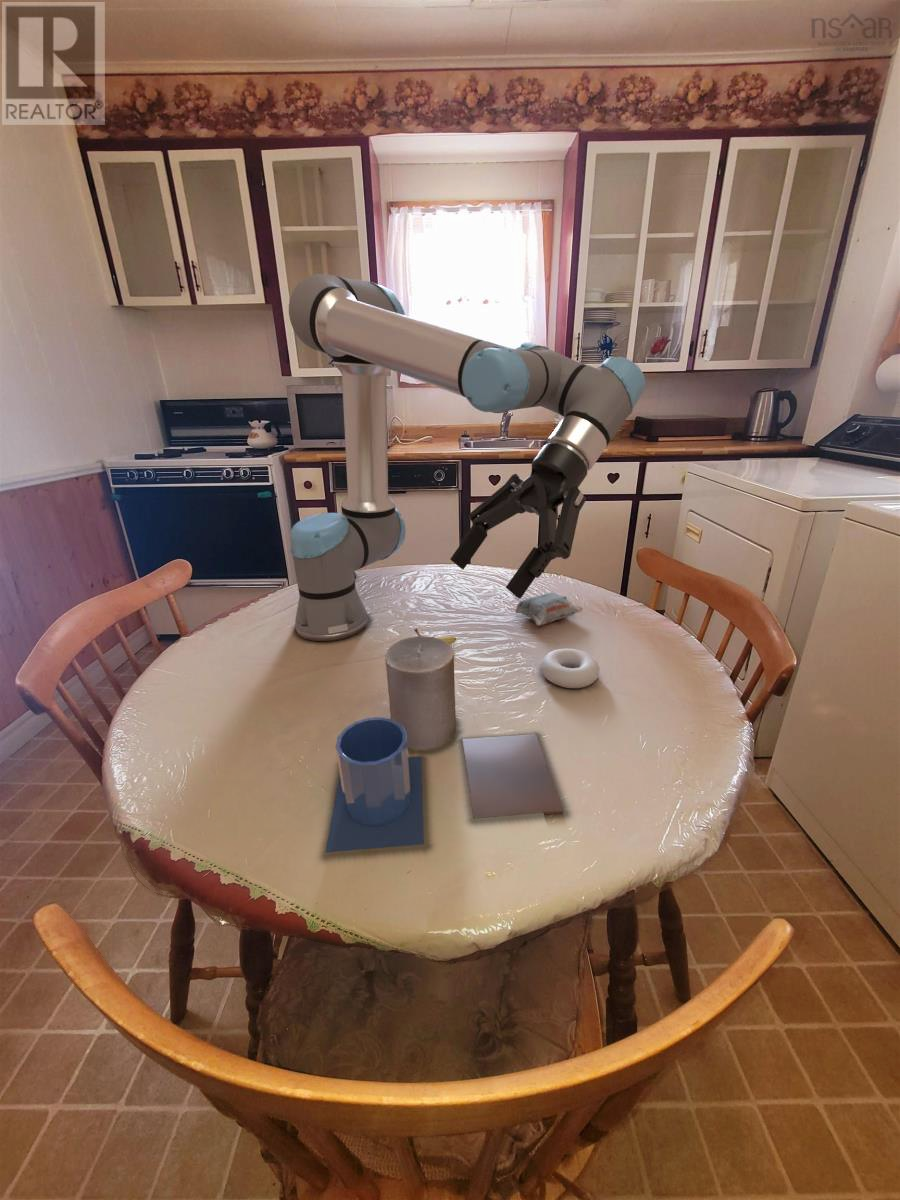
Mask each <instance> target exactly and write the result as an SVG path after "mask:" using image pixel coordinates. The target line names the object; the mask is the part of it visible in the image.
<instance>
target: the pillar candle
mask: <svg viewBox="0 0 900 1200" xmlns="http://www.w3.org/2000/svg"><path fill="white" fill-rule="evenodd" d="M439 638H440V637H434V636H427V635H425V636H424V635H422V636H418V635H417V636H411V637H406V638H403V639H399V640H398V641H396V642H394V643H392V644H391V645H390V646H389V647H388V648H387V650H386V652H385V668H386V669H385V670H386V680H387V690H388V691H387V692H388V703H389V713H390V719H392V720H394V721H396V722H398V723H399V724H401V725H402V726H403V728H404V729H405V731H406V732H407V743H408V749H410V750H415V751H416V750H417V751H419V750H420V751H425V750H432V749H436V748H439V747H440V746H441V747H442V746H443V745H444V744H446V743H448V742H449V741H450V740H451V739H452V738H453V736H454V734H455V733H456V730H457V716H456V689H455V688H456V687H455V684H456V683H455V655H454V654H455V651H454V648H453V646H452V644H448V643H447V642H446V641H443V640H442V639H439Z"/></svg>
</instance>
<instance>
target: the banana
mask: <svg viewBox="0 0 900 1200" xmlns="http://www.w3.org/2000/svg"><path fill="white" fill-rule="evenodd" d="M414 633H416V634H417V636H423V635H422V634H421V633H420V632H419V629H418V628H417V627H416V628H414ZM438 638H439V639H442V640H443V641H446V642H447V643H448V644H450V645H452V644H454V643H455V642H456V641H457V637H455V636H445V637H438Z"/></svg>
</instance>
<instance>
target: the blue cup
mask: <svg viewBox="0 0 900 1200" xmlns="http://www.w3.org/2000/svg"><path fill="white" fill-rule="evenodd" d="M335 752H336V758H337V766H338V771H339V775H340V778H341V784H342V791H343V797H344V802H345V806H346V810H347V813H348V814H349V816H350V817H351V818H352V819H353V820H354V821H356V822H358V823H360V824H362V825H367V826H380V825H385V824H388V823H391V822H393V821H395V820H396V819H398V818H399V817H400V816H402V815H403V814H404V812H405V811H406V810H407V808H408V807H409V804H410V801H411V781H410V768H409V757H410V756H409V748H408V743H407V732H406V731H405V729H404V728H403V726H402V725H401V724H399V723H398V722H396V721H394V720H392V719H391V718H387V717H382V716H376V717H366V718H363V719H360V720H357V721H354V722H352V723H351V724H350V725H348V726H346V727H344V729H343V730H342V731H341V733H340V734H339V735H338V736H337V737H336V743H335Z"/></svg>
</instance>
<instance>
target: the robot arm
mask: <svg viewBox="0 0 900 1200" xmlns="http://www.w3.org/2000/svg"><path fill="white" fill-rule="evenodd" d="M288 317H289V321H290V324H291V327H292V330H293V331H294V333H295V335H296V336H297V337H298V339H299V340H300V341H301V342H302V343H303V344H304V345H305V346H307V347H309V348H310V349H311V350H315V351H317V352H321V353H323V354H326V355H330V356H332V364H333V366H335V367H336V368H337V369H338V371H339V372H340V374H341V385H342V386H341V387H342V407H343V408H342V409H343V425H344V426H343V427H344V444H345V445H344V447H345V459H346V460H345V463H346V464H345V466H346V482H347V486H346V487H347V496H345V498H344V499H343V500H342V501H341V503H340V506H341V508H340V509H341V513H339V512H323V513H321V514H314V515H310V516H307V517H305V518H303V519H301V520H299V521H297V522H296V523H295V524H294V525H293V526H292V528H291V529H290V533H289V539H290V553H291V554H292V559H293V565H294V571H295V577H296V583H297V588H298V595H299V598H298V603H297V609H296V614H295V630H296V633H297V635H299V636H300V637H301V638H303V639H305V640H309V641H313V642H333V641H338V640H343V639H347V638H349V637H352V636H354V635H356V634H358V633H360V632H361V631H362V630H365V628H366V627H367V625H368V623H369V622H368V620H369V619H368V612H367V610H366V607H365V605H364V603H363V601H362V599H361V596H360V595H359V593H358V591H357V587H356V581H355V580H356V578H357V573H356V571H358V570H360V569H362V568H365V567H367V566H369V565H371V564H374V563H376V562H378V561H383V560H385V559H388V558H389V557H390V556H392V555H394V554H396V553H397V552H398V551H399V550H400V549H401V547H402V546H403V544H404V541H405V538H406V533H407V532H406V531H407V530H406V523H405V520H404V518H402V517H401V516H402V514H401V512H400V511H399V510H398V509H397V508H396V502H395V501H394V500H393V499H392V498H391V497H390V496H389V469H388V467H389V466H388V464H389V463H388V459H389V458H388V392H387V391H388V390H387V387H388V384H387V383H388V381H387V376H388V374H389V373H390V371H393V372H395V373H398V374H401V375H404V376H406V377H408V378H411V379H414V380H417V381H420V382H423V383H425V384H427V385H431V386H433V387H436V388H439V389H441V390H444V391H447V392H450V393H453V394H455V395H458V396H460V397H464V398H466V400H467V401H468V402H469V404H470V405H471V406H472V407H473V408H474V409H476V410H477V411H479V412H483V413H493V414H504V413H508V412H510V411H515V410H522V409H530V408H537V407H538V408H539V407H542V408H544V409H546V410H549V411H551V412H553V413H555V414H558V415H560V416H561V417H562V419H561V421H560V422H559V423H558V424H557V426H556V427H555V429H554V431H553V432H552V433H551V434H550V436H549V437H548V438H547V442H546V444H544V445H543V446H542V447H541V449H540V451H539V452H538V453H537V455H536V456H535V458H534V459H533V460H532V462H531V472H530V474H529V476H527V477H526V478H525V479H522V478H521V477H520V476H519V475H518V474H517V473H513V474H512V475H510V477H509V479H508V480H507V481H506V482H505V483H504V485H502V486H501V487H500V488H499V489H497V490H496V491H495V492H494V493H492V494H491V495H490V496H489V497H488V498H487V499H485V500H484V501H483V502H482V503H480V504H479V505H478V506H477V507H476V508H474V509H473V510H472V511H471V512H469V513H468V515H467V517H468V519H469V520H470V522H471V523H472V525H471V527H470V528H469V530H468V531H467V532H466V534H465V535H464V537H463V538H462V541H461V542H460V544H459V546H458V547H457V549H456V550H455V551H454V553H453V554H452V556H451V557H450V558H449V560H450V561H451V562H452V563H454V564H455V565H456V566H457V567H458V568H459V569H461V570H464V569H466V567H467V565H468V564H469V562H470V561H471V560H472V558H473V557H474V555H476V553H477V551H478V550H479V548H480V547H481V545H482V544H483V543H484V542H485V540H486V539H487V537H488V531H490V530H491V529H493V528H495V527H496V526H498V525H500V524H502V523H504V522H505V521H507V520H509V519H511V518H512V517H514V516H515V515H517V514H520V515H521V514H524V513H529V514H535V515H537V516H539V543H537V544H536V545H537V546H538V547H536V546H534V547H533V548H532V549H531V550H530V552H529V553H528V555H527V556H526V557H525V559H524V560H523V562H522V564H520V565H519V568H518V569H517V570H516V572H515V573H514V574H513V576H512V577H511V579H510V580H509V582H508V583H507V584H506V586H505V589H506V590H508V591H509V592H510V593H511V594H512V595H514V596H515V597H516V599H517V598H518V599H519V600H521V599H522V598H523V596H524V595H525V593H526V592H527V590H528V589H529V587H530V586H531V585H532V583H533V581H534V580H535V579H536V578H537V579H538V578H540V576H542V574H543V572H544V571H545V569H547V567H548V565H549V564H550V562H551V561H552V560H555V559H557V558H561V559H562V560H567V559H568V558H570V556H571V553H572V548H573V543H574V539H575V535H576V534H575V533H576V530H577V525H578V520H579V516H580V511H581V510H582V508H583V507H584V504H585V503H586V501H587V498H586V497H585V495H584V494H583V492H582V491H581V490H580V488H579V487H580V485H581V484H582V483H583V482H584V480H585V478H586V477H587V476H588V471H590V470H592V468H593V467H594V465H595V464H596V462H597V461H598V460H599V458H600V457H601V455H602V454H603V452H604V451H605V449H606V448H607V446H608V445H609V444H610V443H611V441H612V440H613V439H614V437H615V435H616V434H617V432H618V431H619V430H620V429H621V427H622V425H623V424H624V423H625V422H626V420H627V419H628V418H629V417H630V415H632V413H633V410H634V408H635V406H636V405H637V403H638V401H639V400H640V399H641V397H642V395H643V393H644V392H645V389H646V378H645V374H644V373H643V371H642V369H641V368H640V367H639V366H638V365H637V364H636V363H635V362H634V361H632V360H631V359H628V358H626V357H624V356H618V357H616V356H610V357H608V358H606V359H605V360H603V361H602V363H601V364H599V365H598V366H597V367H594V366H592V365H587V364H585V363H581V362H579V361H577V360H575V359H572V358H570V357H569V356H566V355H563V354H561V353H558V352H556V351H554V350H551V349H550V348H549V347H547V346H545V345H540V344H536V343H533V342H529V341H528V342H526V341H525V342H523V343H521V344H520V345H519V346H518V347H516V348H512V347H507V346H504V345H502V344H498V343H494V342H491V341H487V340H484V339H480V338H477V337H474V336H471V335H468V334H465V333H461V332H458V331H455V330H451V329H448V328H445V327H442V326H438V325H436V324H433V323H429V322H426V321H423V320H420V319H417V318H414V317H409V316H407V315H406V313H405V310H404V307H403V304H402V303H401V301H400V299H399V298H398V297H397V296H396V294H395V293H394V292H393V291H392V290H391V289H389V288H388V287H386V286H383V285H380V284H377V283H375V282H373V281H368V280H360V279H354V278H350V277H349V278H348V277H343V276H337V275H332V274H327V273H315V274H311V275H309V276H307V277H304V278H303V279H301V280H300V281H299V282H297V284H296V285H295V287H294V288H293V290H292V292H291V295H290V297H289V301H288ZM561 505H562V506H561ZM560 506H561V508H560V509H561V510H560V514H559V507H560ZM557 521H558V522H557ZM539 548H540V549H539Z"/></svg>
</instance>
